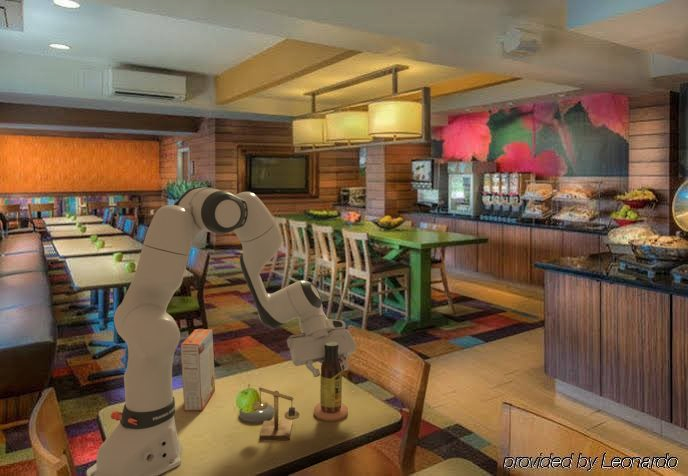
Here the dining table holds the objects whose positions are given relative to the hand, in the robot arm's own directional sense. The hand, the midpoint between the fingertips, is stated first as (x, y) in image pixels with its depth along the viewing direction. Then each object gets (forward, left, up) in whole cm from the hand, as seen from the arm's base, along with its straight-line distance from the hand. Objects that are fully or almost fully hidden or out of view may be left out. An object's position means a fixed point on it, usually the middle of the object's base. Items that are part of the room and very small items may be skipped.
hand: (331, 372), depth 153 cm
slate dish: (-12, +19, -13) cm, 25 cm away
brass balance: (-17, +8, -13) cm, 22 cm away
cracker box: (-14, +40, -13) cm, 44 cm away
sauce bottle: (0, +1, -12) cm, 12 cm away
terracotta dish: (0, +1, -13) cm, 13 cm away
